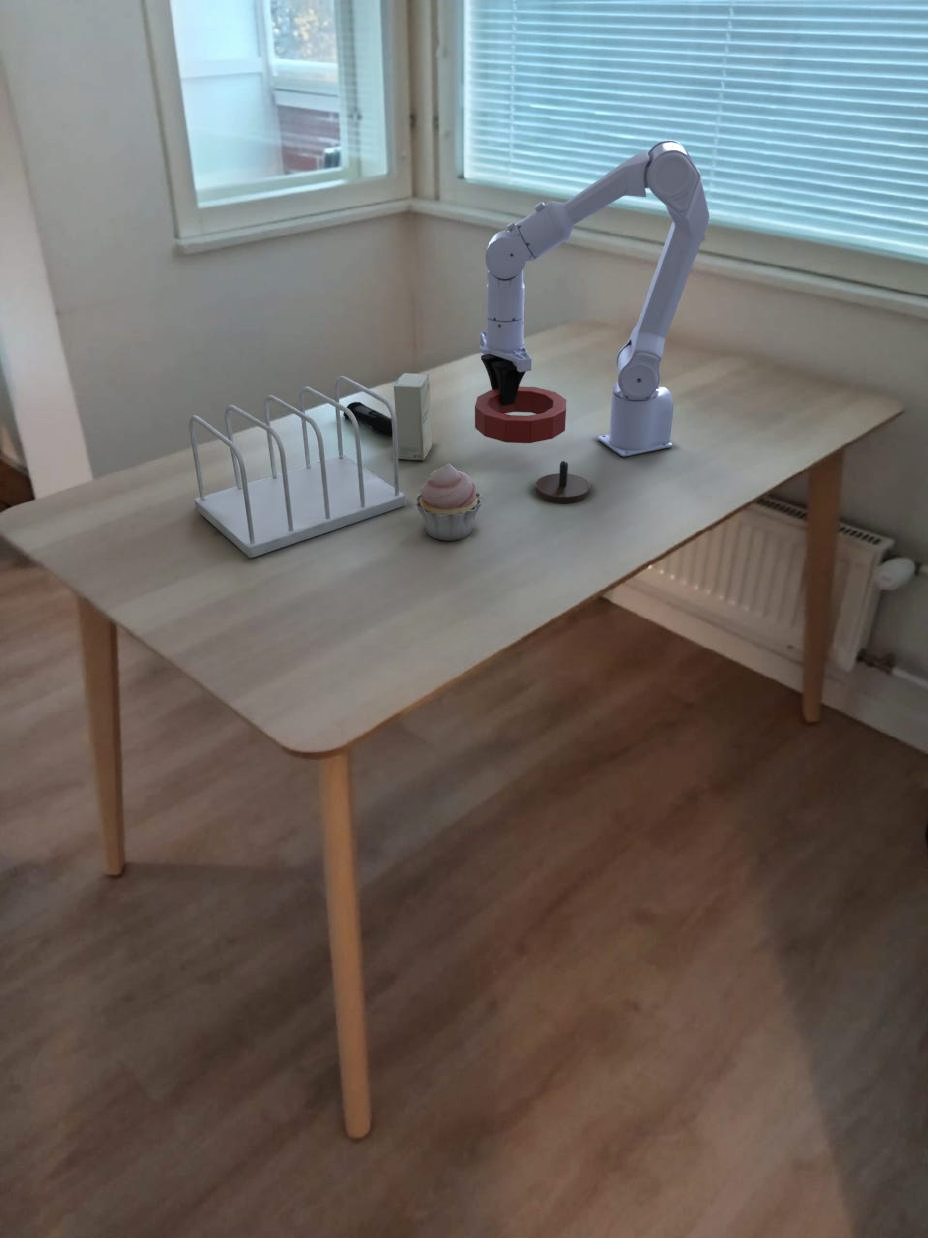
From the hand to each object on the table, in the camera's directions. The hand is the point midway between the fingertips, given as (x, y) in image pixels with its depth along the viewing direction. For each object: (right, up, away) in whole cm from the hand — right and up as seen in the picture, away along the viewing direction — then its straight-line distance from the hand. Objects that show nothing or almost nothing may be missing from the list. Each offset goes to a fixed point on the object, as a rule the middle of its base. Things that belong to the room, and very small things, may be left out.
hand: (504, 401), depth 153 cm
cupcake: (-9, -23, -21) cm, 32 cm away
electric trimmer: (-21, -3, +9) cm, 23 cm away
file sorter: (-30, -19, -15) cm, 39 cm away
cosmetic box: (-14, -8, 0) cm, 17 cm away
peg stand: (+8, -16, -12) cm, 21 cm away
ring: (+2, -4, -4) cm, 6 cm away
